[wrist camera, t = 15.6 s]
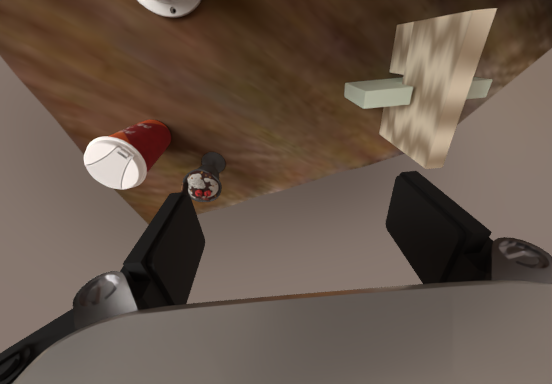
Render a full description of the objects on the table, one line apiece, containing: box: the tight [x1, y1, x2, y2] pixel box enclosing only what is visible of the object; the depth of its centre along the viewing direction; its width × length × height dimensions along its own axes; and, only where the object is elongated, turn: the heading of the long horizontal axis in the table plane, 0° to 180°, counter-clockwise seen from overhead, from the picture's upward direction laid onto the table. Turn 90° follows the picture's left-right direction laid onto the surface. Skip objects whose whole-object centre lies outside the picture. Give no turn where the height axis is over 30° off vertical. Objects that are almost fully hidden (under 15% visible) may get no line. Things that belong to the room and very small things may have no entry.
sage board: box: [344, 77, 493, 109], centre depth 37 cm, size 2×18×10 cm, turn 95°
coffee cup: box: [84, 120, 171, 189], centre depth 39 cm, size 8×8×15 cm
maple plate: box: [379, 8, 497, 169], centre depth 35 cm, size 18×2×16 cm, turn 5°
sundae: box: [181, 152, 225, 202], centre depth 42 cm, size 7×7×15 cm
